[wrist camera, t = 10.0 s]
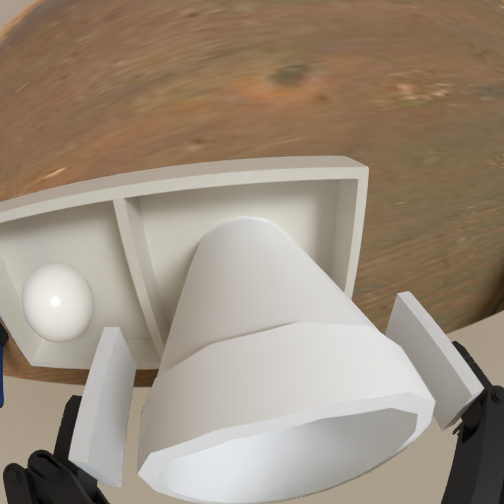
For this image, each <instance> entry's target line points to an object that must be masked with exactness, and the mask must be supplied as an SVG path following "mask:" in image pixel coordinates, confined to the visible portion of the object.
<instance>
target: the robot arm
mask: <svg viewBox="0 0 504 504" xmlns="http://www.w3.org/2000/svg"><path fill="white" fill-rule="evenodd" d="M385 335H386V336H387V338H389V339H390V340H392V341H393V342H395V343H396V344H398V345H399V346H401V347H402V349H403V350H404V352H405V353H406V355H407V356H408V358H409V360H410V361H411V363H412V364H413V366H414V367H415V369H416V371H417V372H418V374H419V375H420V377H421V379H422V380H423V382H424V383H425V385H426V387H427V388H428V390H429V392H430V393H431V395H432V397H433V398H434V400H435V406H434V410H433V415H434V417H435V419H436V421H437V423H438V424H439V426H440V428H441V430H442V431H443V430H444V429H446V428H448V427H450V426H452V425H454V424H455V423H456V422H457V420H458V419H459V418H460V417H461V419H462V422H461V423H460V424H459V426H458V427H457V428H456V429H455V430H454V431H453V435H454V434H455V433H456V432H457V431H458V430H459V433H458V434H457V435H458V440H457V445H456V450H455V455H454V459H453V463H452V468H451V472H450V475H449V479H448V483H447V486H446V489H445V492H444V495H443V499H442V502H441V504H504V388H503V387H501V386H493V385H492V384H491V383H490V382H489V380H488V379H487V377H486V376H485V375H484V373H483V372H482V370H481V369H480V368H479V366H478V365H477V364H476V363H475V362H474V360H473V358H472V357H471V356H470V354H469V353H468V352H467V350H466V349H465V348H464V347H463V346H462V345H460V344H459V343H458V342H456V341H454V342H450V340H449V339H448V338H447V336H446V335H445V334H444V333H443V331H442V330H441V329H440V327H439V326H438V325H437V324H436V323H435V321H434V320H433V319H432V318H431V316H430V315H429V314H428V313H427V311H426V310H425V309H424V308H423V307H422V305H421V304H420V303H419V302H418V301H417V300H416V298H415V297H414V296H413V295H412V294H411V293H410V291H407V292H403V293H398V294H397V297H396V300H395V303H394V307H393V310H392V313H391V317H390V320H389V323H388V326H387V329H386V332H385ZM136 367H137V365H136V363H135V361H134V359H133V357H132V355H131V353H130V350H129V348H128V346H127V344H126V341H125V339H124V337H123V335H122V332H121V330H120V327H104V330H103V332H102V335H101V338H100V341H99V344H98V347H97V350H96V353H95V356H94V359H93V362H92V366H91V369H90V372H89V375H88V379H87V382H86V386H85V389H84V393H83V396H76V395H73V396H72V397H71V398H70V400H69V401H68V402H67V404H66V406H65V410H64V414H63V418H62V421H61V426H60V428H59V432H58V436H57V441H56V445H55V449H54V454H53V455H52V454H51V453H49V452H48V451H46V450H38V451H35V452H34V453H32V454H31V455H30V457H29V459H28V465H27V466H28V468H27V469H24V468H23V467H21V466H20V465H18V464H16V463H11V464H9V465H8V466H6V468H5V469H4V472H3V480H4V487H5V492H6V496H7V502H8V504H110V503H109V502H108V501H107V499H106V498H105V497H104V495H103V494H102V492H101V491H100V489H99V488H98V487H97V481H99V482H101V483H102V484H104V485H109V486H116V487H121V482H122V470H123V458H124V449H125V439H126V431H127V424H128V417H129V410H130V403H131V396H132V390H133V384H134V378H135V373H136Z"/></svg>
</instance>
